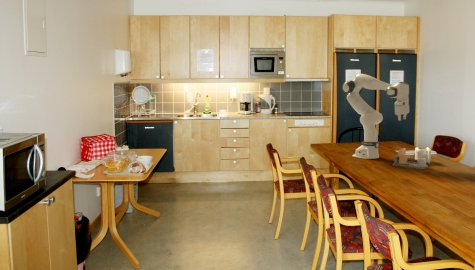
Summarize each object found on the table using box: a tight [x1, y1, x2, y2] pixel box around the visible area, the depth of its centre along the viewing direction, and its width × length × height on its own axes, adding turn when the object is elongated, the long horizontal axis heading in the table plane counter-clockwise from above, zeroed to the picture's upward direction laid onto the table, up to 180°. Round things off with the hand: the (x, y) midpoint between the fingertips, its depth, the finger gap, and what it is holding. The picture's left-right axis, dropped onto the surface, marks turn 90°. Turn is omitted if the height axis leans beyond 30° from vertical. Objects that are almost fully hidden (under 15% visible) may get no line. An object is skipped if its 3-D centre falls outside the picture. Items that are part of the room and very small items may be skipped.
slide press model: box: [392, 154, 429, 170], centre depth 348 cm, size 24×10×7 cm, turn 47°
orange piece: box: [397, 147, 411, 164], centre depth 350 cm, size 6×12×11 cm, turn 137°
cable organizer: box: [414, 146, 432, 165], centre depth 362 cm, size 15×11×12 cm
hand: (402, 119), depth 356 cm, fingers open, 8 cm apart
